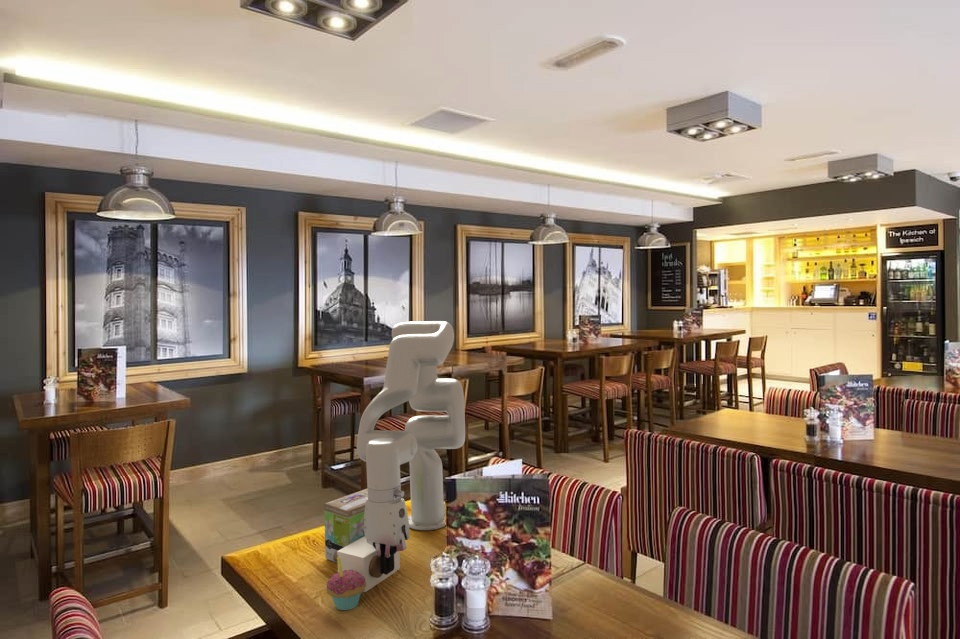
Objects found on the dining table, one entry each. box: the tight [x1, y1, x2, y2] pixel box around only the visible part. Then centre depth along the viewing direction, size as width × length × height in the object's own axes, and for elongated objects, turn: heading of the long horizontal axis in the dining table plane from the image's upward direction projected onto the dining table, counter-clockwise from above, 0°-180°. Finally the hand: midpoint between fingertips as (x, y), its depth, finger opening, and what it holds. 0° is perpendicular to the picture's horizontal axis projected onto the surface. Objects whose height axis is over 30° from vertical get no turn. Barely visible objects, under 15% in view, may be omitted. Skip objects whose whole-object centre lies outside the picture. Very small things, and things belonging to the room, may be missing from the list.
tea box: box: [324, 488, 368, 564], centre depth 160 cm, size 15×10×15 cm, turn 143°
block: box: [337, 536, 401, 593], centre depth 147 cm, size 13×8×12 cm, turn 150°
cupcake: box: [325, 555, 366, 611], centre depth 134 cm, size 9×8×12 cm
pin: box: [333, 550, 382, 578], centre depth 146 cm, size 13×5×5 cm, turn 60°
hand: (387, 571), depth 141 cm, fingers closed
